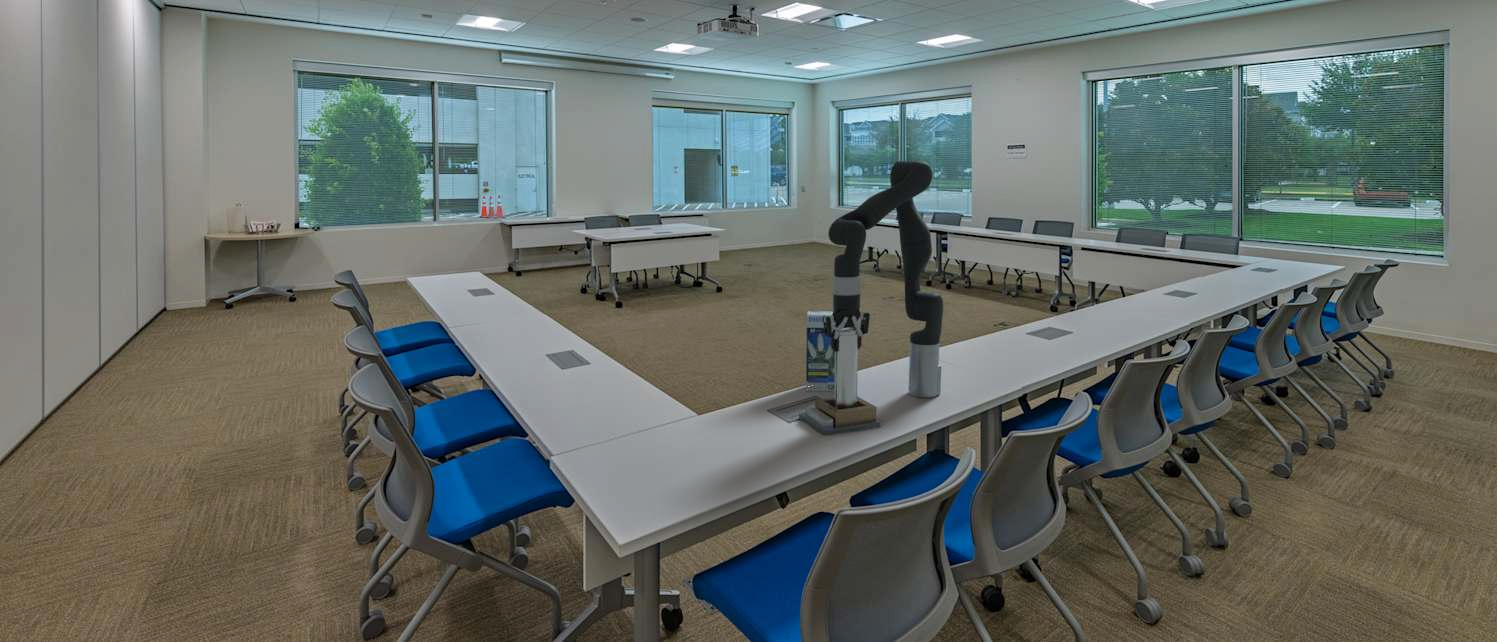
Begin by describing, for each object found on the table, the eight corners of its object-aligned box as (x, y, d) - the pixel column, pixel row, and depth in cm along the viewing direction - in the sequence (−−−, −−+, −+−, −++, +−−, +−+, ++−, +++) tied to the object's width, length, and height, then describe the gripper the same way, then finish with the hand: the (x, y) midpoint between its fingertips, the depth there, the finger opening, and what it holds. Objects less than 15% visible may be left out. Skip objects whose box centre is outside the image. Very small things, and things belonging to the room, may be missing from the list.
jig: (853, 410, 222) (853, 393, 221) (880, 426, 207) (880, 408, 206) (799, 418, 216) (799, 400, 215) (823, 435, 201) (823, 416, 200)
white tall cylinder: (856, 418, 208) (857, 332, 203) (833, 417, 210) (833, 331, 205) (857, 411, 215) (858, 327, 210) (835, 410, 216) (835, 327, 211)
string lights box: (806, 391, 242) (806, 315, 237) (806, 385, 250) (806, 310, 245) (846, 392, 241) (847, 315, 236) (845, 385, 248) (846, 310, 243)
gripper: (862, 288, 211) (861, 344, 214) (817, 292, 206) (817, 349, 209) (876, 292, 204) (875, 350, 207) (829, 295, 199) (829, 355, 202)
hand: (846, 349), depth 208 cm, fingers closed on white tall cylinder, 6 cm apart
